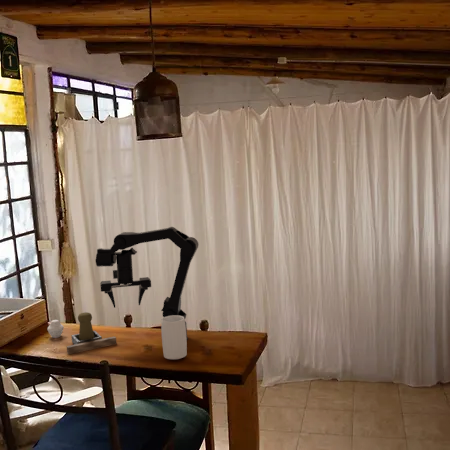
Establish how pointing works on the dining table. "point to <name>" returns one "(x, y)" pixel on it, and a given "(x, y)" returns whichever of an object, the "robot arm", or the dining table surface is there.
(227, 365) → the dining table surface
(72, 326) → the dining table surface
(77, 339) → the collar
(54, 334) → the white vase
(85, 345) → the door edge strip
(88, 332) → the olive brown shaker
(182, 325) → the cup
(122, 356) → the dining table surface
